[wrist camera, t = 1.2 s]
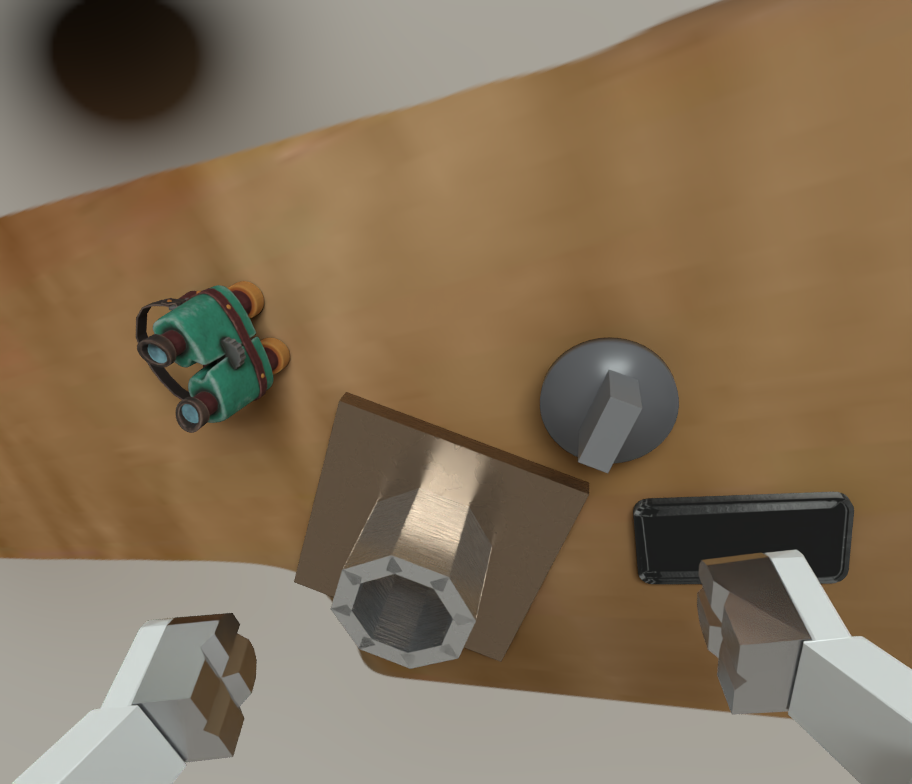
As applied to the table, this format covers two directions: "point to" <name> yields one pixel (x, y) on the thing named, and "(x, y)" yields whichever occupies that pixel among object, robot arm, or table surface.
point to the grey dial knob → (609, 401)
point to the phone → (741, 532)
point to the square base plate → (430, 535)
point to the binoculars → (212, 351)
